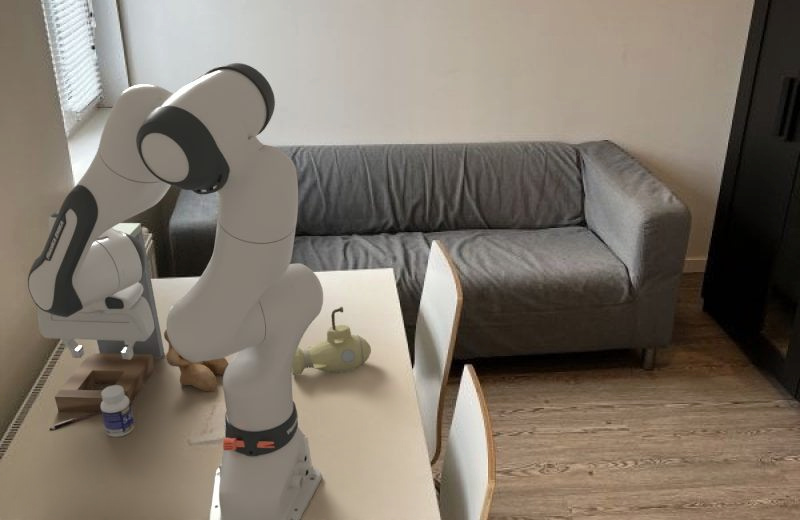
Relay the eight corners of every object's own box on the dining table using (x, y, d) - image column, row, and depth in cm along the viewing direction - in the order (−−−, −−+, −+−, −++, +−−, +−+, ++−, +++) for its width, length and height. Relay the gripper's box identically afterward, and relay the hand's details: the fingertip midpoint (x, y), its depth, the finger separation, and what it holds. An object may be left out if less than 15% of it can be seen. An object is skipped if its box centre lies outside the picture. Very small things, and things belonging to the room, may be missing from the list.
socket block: (125, 413, 154) (122, 398, 153) (58, 411, 156) (54, 396, 154) (154, 368, 169) (152, 354, 167) (92, 366, 170) (89, 353, 168)
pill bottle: (131, 436, 148) (122, 398, 144) (103, 438, 147) (94, 400, 144) (137, 419, 152) (129, 382, 149) (110, 421, 152) (101, 383, 148)
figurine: (216, 396, 159) (183, 337, 153) (178, 403, 162) (145, 345, 156) (235, 365, 168) (205, 308, 162) (199, 373, 171) (168, 316, 165)
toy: (375, 374, 165) (372, 313, 158) (294, 388, 161) (288, 325, 155) (366, 353, 172) (363, 294, 166) (289, 366, 169) (283, 305, 162)
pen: (50, 432, 150) (49, 427, 150) (49, 430, 151) (48, 425, 150) (109, 411, 156) (108, 407, 155) (108, 409, 156) (107, 405, 156)
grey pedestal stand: (148, 378, 165) (121, 243, 152) (84, 377, 166) (52, 242, 153) (164, 353, 174) (140, 223, 161) (104, 352, 175) (75, 222, 162)
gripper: (23, 298, 135) (40, 364, 141) (137, 301, 133) (150, 368, 140) (41, 281, 140) (57, 345, 147) (151, 284, 139) (162, 349, 145)
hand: (103, 356), depth 143 cm, fingers open, 8 cm apart
